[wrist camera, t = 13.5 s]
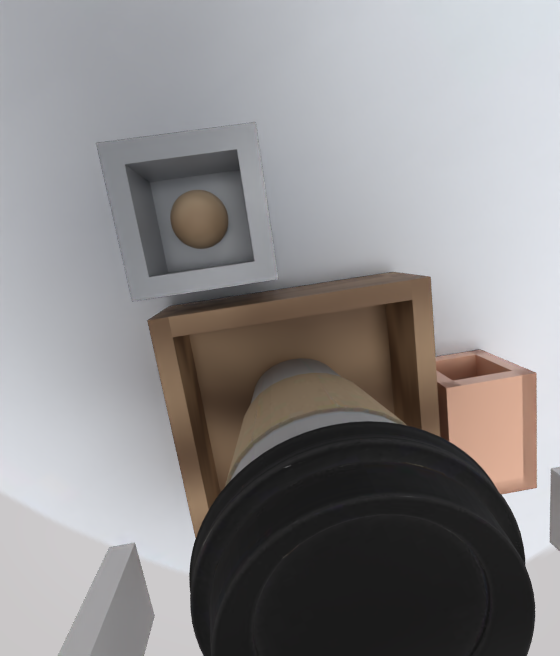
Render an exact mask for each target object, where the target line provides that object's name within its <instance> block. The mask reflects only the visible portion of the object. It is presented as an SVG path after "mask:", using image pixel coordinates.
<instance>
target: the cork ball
mask: <svg viewBox="0 0 560 656" xmlns="http://www.w3.org/2000/svg"><path fill="white" fill-rule="evenodd" d="M170 221H171V226H172V229H173V231H174V233H175V235H176V236H177V238H178V239H179V240H180V241H182V242H183V243H184V244H186V245H187V246H190V247H192V248H196V249H206V248H210V247H212V246H214V245H216V244H217V243H219V242H220V241H221V240H222V238H223V237H224V236H225V234H226V231H227V228H228V214H227V210H226V208H225V206H224V204H223V203H222V201H221V200H220V199H219V198H218V197H217V196H215V195H214V194H212V193H210V192H208V191H205V190H191V191H188V192H186V193H184V194H182V195H181V196H179V197H178V198H177V200H176V201H175V202H174V204H173V206H172V209H171V214H170Z"/></svg>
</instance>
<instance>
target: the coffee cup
mask: <svg viewBox="0 0 560 656" xmlns="http://www.w3.org/2000/svg"><path fill="white" fill-rule="evenodd" d="M189 575H190V593H191V595H190V601H191V616H192V624H193V628H194V632H195V636H196V639H197V641H198V644H199V647H200V649H201V651H202V653H203V655H204V656H527V654H528V651H529V648H530V644H531V641H532V636H533V631H534V622H535V602H534V593H533V589H532V584H531V581H530V578H529V575H528V572H527V570H526V567H525V554H524V546H523V542H522V538H521V533H520V530H519V527H518V524H517V522H516V519H515V517H514V515H513V513H512V511H511V509H510V507H509V506H508V504H507V502H506V501H505V499H504V498H503V496H502V495H501V494H500V493H499V491H498V490H497V488H496V486H495V485H494V483H493V481H492V480H491V478H490V477H489V476H488V475H487V473H486V472H485V471H484V469H483V468H482V467H481V466H480V465H479V464H478V463H477V462H476V461H475V460H474V459H473V458H471V457H470V456H469V455H468V454H467V453H466V452H464V451H463V450H461V449H460V448H459V447H457V446H456V445H454V444H453V443H451V442H449V441H447V440H445V439H443V438H442V437H440V436H437V435H435V434H432V433H430V432H428V431H425V430H422V429H418V428H415V427H412V426H407V425H406V424H405V423H404V422H403V421H401V420H400V419H399V418H398V417H396V416H395V415H394V414H393V413H391V412H390V411H389V410H387V409H386V408H385V407H384V406H382V405H381V404H380V403H379V402H377V401H376V400H375V399H374V398H372V397H371V396H370V395H368V394H367V393H366V392H365V391H363V390H362V389H361V388H360V387H358V386H357V385H356V384H354V383H353V382H351V381H349V380H347V379H345V378H343V377H341V376H340V375H338V374H337V373H336V372H335V371H333V370H332V369H331V368H330V367H329V366H327V365H326V364H324V363H322V362H319V361H317V360H312V359H304V358H299V359H291V360H287V361H284V362H281V363H279V364H277V365H275V366H273V367H271V368H270V369H269V370H267V371H266V372H265V373H264V374H263V375H262V376H261V377H260V379H259V380H258V382H257V384H256V386H255V389H254V393H253V397H252V401H251V404H250V406H249V408H248V410H247V412H246V414H245V416H244V419H243V423H242V426H241V430H240V434H239V437H238V441H237V445H236V448H235V452H234V456H233V459H232V463H231V466H230V470H229V474H228V478H227V481H226V485H225V488H224V489H223V490H222V491H221V493H220V494H219V495H218V496H217V498H216V499H215V501H214V502H213V504H212V505H211V507H210V508H209V510H208V512H207V514H206V516H205V518H204V520H203V521H202V524H201V526H200V529H199V531H198V533H197V537H196V540H195V543H194V546H193V551H192V556H191V562H190V573H189Z"/></svg>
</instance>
